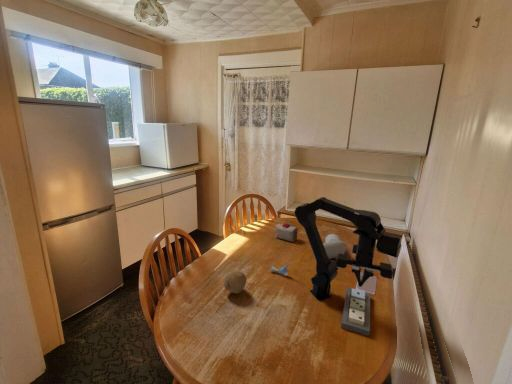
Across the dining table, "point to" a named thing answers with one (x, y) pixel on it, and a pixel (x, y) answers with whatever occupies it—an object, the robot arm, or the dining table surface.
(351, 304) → the three dot key
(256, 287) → the dining table surface
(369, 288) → the mobile phone
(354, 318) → the two dot key
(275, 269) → the dinosaur figurine
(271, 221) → the dining table surface
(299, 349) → the dining table surface
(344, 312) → the grey flat block
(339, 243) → the elbow connector
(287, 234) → the white box
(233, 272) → the natural sponge
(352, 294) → the one dot key
